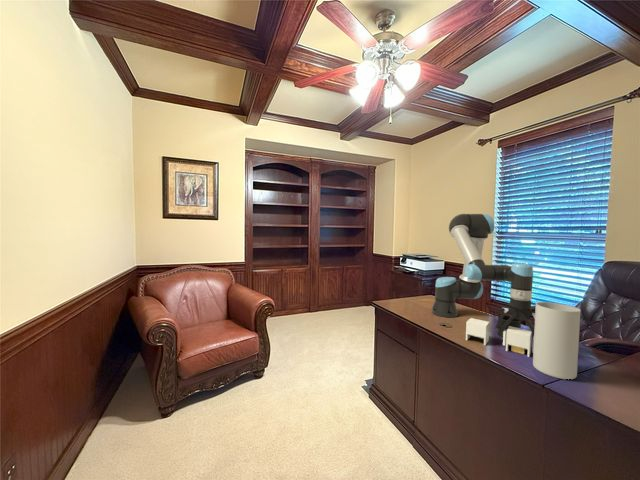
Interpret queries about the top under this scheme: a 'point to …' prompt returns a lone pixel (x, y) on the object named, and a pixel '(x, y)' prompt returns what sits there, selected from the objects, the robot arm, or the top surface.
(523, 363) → the top surface
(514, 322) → the mug
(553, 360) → the cylinder vase
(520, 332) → the cover
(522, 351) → the block
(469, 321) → the cover
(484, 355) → the top surface
